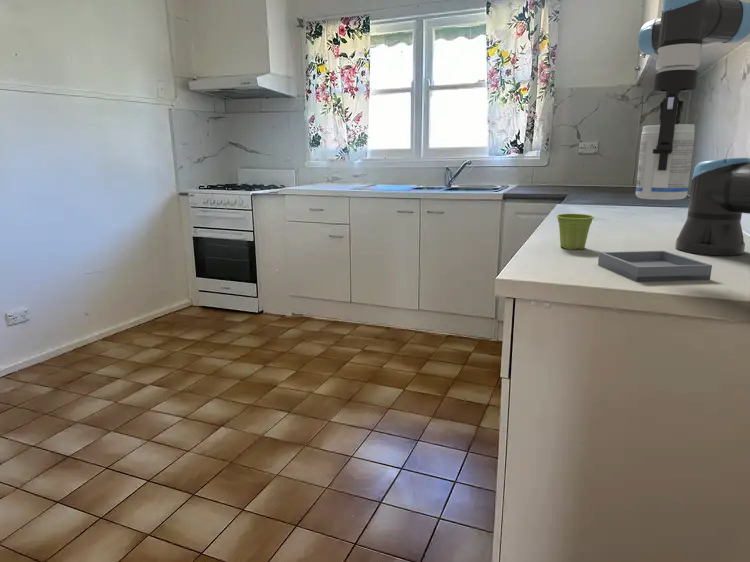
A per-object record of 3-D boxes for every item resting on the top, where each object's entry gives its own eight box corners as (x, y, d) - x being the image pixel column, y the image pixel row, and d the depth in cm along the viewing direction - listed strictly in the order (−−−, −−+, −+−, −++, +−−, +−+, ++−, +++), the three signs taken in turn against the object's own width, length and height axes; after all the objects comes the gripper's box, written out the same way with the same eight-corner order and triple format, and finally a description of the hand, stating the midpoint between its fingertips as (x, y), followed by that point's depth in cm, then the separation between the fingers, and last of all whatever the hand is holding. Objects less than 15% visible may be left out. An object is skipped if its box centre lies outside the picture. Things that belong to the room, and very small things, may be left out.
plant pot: (587, 252, 133) (590, 218, 131) (549, 248, 138) (552, 216, 136) (594, 246, 141) (597, 214, 138) (558, 243, 146) (561, 212, 143)
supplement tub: (695, 198, 106) (706, 124, 103) (671, 201, 101) (681, 123, 98) (649, 195, 114) (658, 126, 110) (624, 197, 109) (633, 125, 105)
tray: (662, 263, 120) (664, 250, 119) (709, 279, 105) (712, 265, 104) (597, 264, 119) (599, 252, 118) (636, 281, 103) (638, 267, 103)
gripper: (658, 78, 112) (645, 182, 118) (650, 65, 94) (636, 188, 100) (698, 75, 109) (683, 183, 114) (698, 61, 90) (680, 190, 96)
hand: (661, 185), depth 107 cm, fingers closed on supplement tub, 9 cm apart
